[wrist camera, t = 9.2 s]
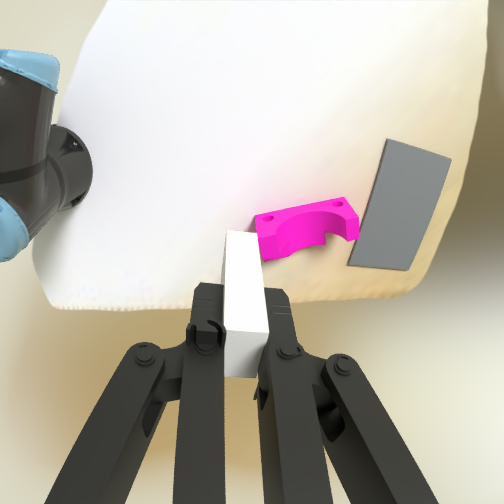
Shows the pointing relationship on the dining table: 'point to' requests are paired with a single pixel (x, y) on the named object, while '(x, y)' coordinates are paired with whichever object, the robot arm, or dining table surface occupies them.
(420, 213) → the pad
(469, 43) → the dining table surface
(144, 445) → the robot arm
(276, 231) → the magenta bearing cap
